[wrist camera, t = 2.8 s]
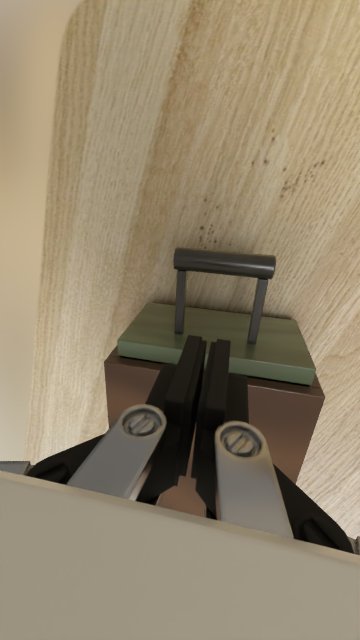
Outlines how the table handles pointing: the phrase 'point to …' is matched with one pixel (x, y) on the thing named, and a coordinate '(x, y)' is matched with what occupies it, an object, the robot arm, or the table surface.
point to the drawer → (222, 323)
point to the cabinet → (264, 414)
